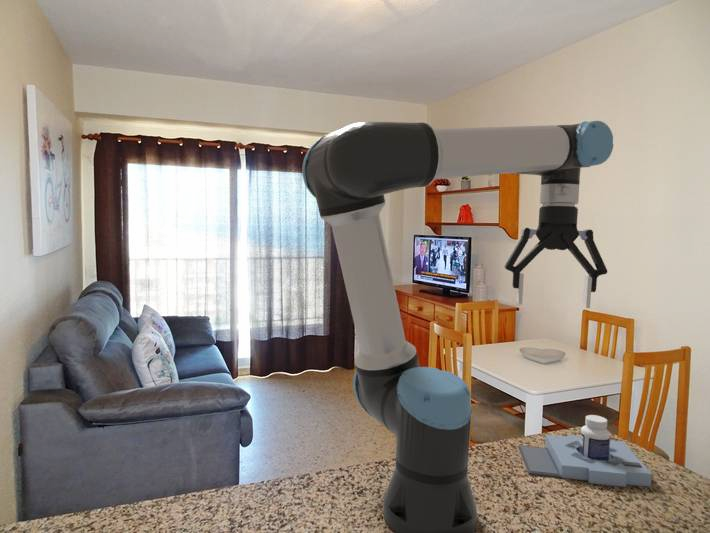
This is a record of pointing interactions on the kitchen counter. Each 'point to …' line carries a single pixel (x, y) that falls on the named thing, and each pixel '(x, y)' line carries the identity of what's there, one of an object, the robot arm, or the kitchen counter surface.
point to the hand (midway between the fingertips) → (552, 305)
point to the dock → (597, 463)
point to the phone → (538, 461)
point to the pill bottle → (595, 438)
